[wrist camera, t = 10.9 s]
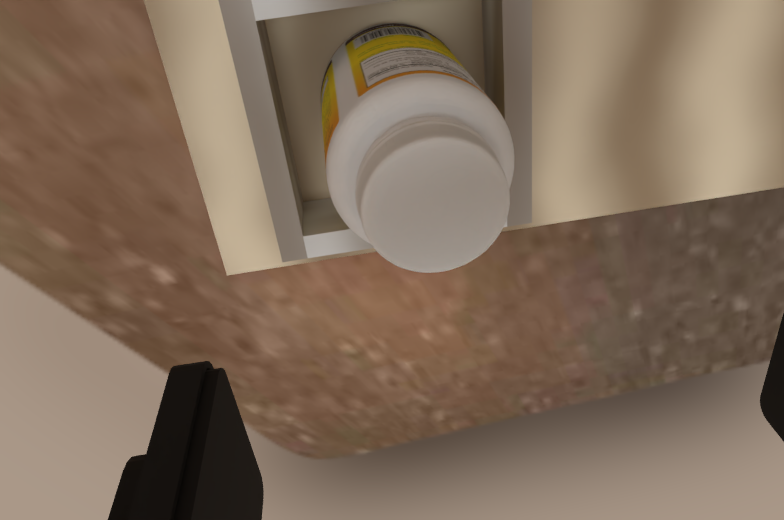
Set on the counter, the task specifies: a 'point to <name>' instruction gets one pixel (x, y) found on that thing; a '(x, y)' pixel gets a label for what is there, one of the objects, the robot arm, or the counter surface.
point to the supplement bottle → (414, 149)
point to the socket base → (505, 89)
